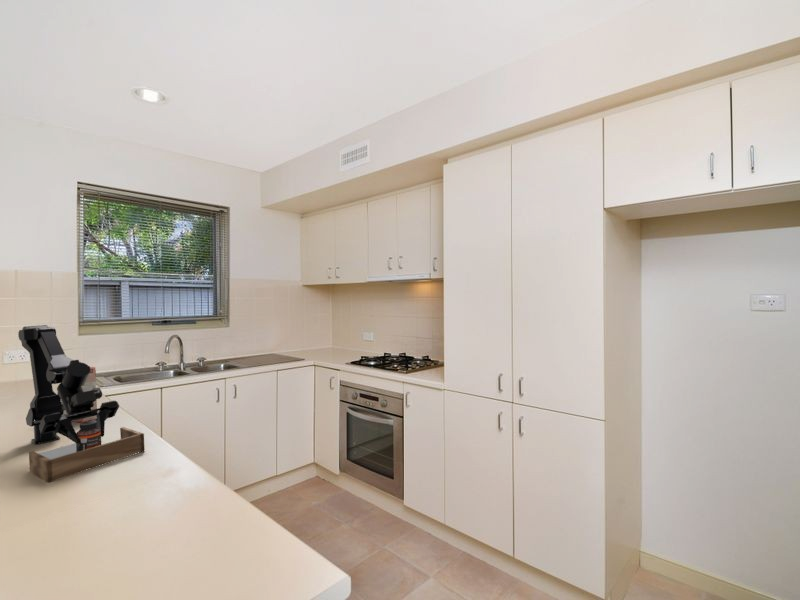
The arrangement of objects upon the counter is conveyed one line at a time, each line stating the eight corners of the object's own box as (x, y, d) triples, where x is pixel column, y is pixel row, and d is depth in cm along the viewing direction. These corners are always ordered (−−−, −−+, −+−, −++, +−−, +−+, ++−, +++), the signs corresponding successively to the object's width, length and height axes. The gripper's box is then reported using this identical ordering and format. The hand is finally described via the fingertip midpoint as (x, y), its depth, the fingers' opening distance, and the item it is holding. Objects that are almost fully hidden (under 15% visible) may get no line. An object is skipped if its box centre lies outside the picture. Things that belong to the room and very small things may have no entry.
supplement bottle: (88, 465, 119) (86, 426, 118) (71, 464, 120) (69, 425, 119) (107, 457, 124) (105, 419, 124) (90, 456, 126) (89, 419, 125)
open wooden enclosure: (29, 471, 115) (28, 452, 115) (124, 443, 135) (123, 427, 135) (47, 482, 108) (46, 461, 108) (144, 451, 128) (143, 433, 128)
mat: (34, 455, 127) (34, 454, 127) (87, 440, 139) (87, 439, 139) (52, 465, 120) (52, 463, 120) (107, 448, 131) (107, 447, 131)
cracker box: (98, 418, 164) (96, 366, 163) (81, 423, 158) (79, 369, 158) (78, 415, 170) (76, 364, 169) (61, 419, 164) (58, 367, 164)
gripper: (41, 387, 116) (58, 432, 110) (115, 375, 132) (134, 414, 126) (31, 411, 120) (48, 456, 115) (104, 396, 136) (122, 435, 130)
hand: (90, 439), depth 121 cm, fingers closed on supplement bottle, 6 cm apart
